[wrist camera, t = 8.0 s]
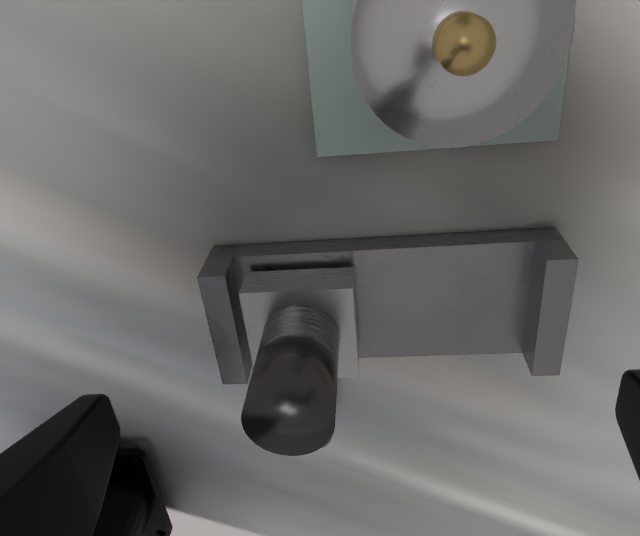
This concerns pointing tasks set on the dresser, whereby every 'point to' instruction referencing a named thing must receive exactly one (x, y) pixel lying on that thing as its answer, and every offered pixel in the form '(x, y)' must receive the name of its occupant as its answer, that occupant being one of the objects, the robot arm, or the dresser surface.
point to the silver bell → (458, 64)
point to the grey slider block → (297, 354)
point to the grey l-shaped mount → (352, 109)
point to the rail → (416, 294)
